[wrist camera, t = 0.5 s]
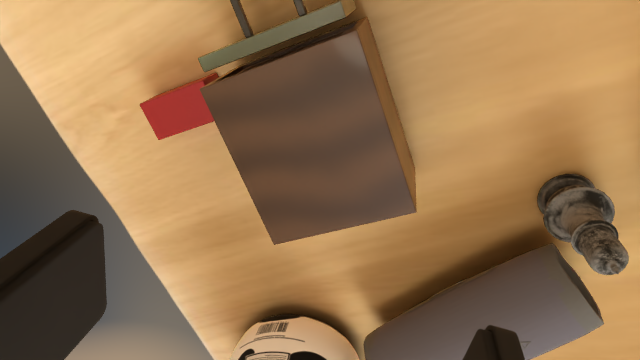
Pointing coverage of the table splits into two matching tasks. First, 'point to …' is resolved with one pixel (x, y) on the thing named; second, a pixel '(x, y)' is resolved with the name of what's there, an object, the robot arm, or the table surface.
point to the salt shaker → (583, 221)
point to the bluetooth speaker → (494, 311)
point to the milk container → (293, 341)
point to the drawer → (277, 33)
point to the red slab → (178, 109)
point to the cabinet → (317, 136)
